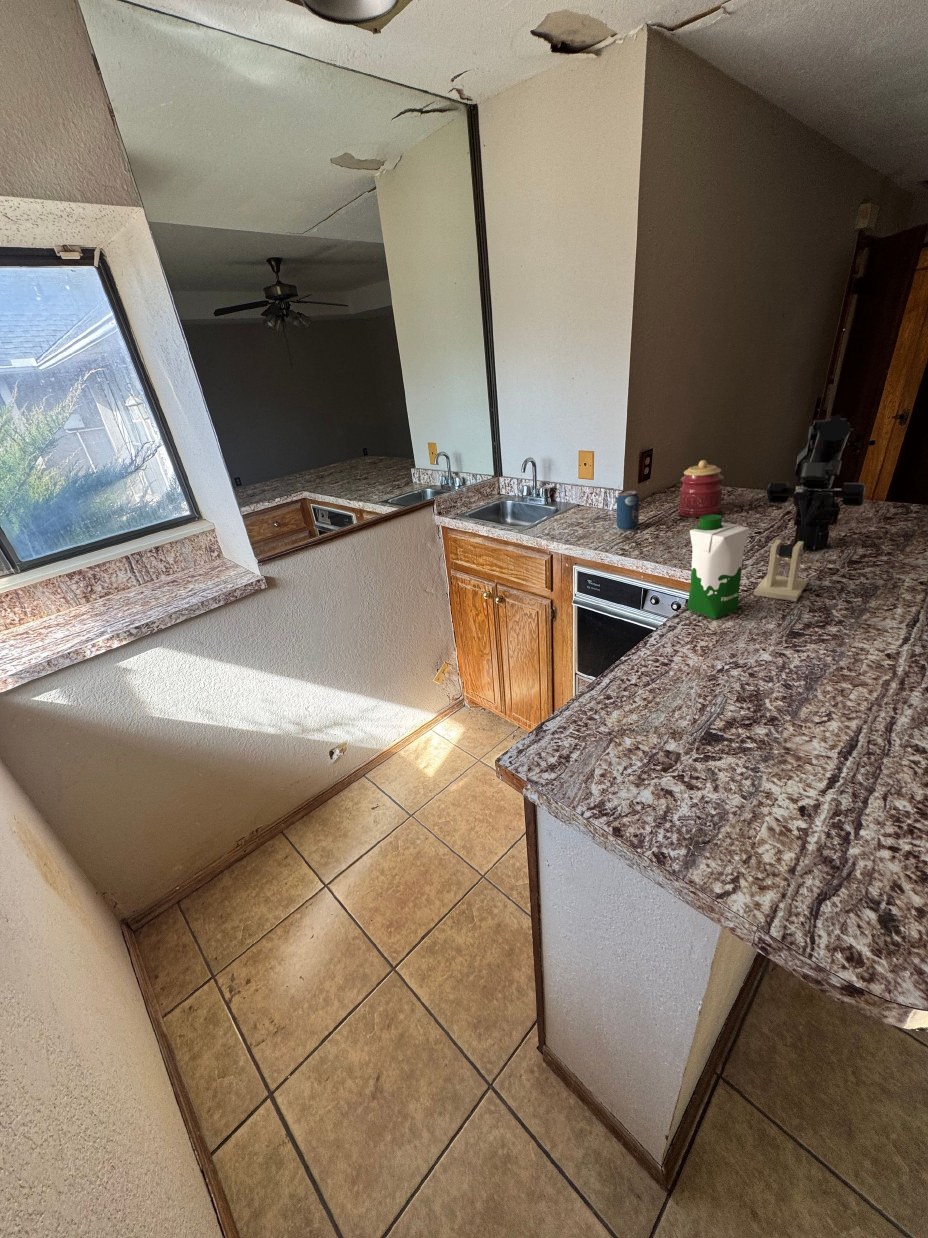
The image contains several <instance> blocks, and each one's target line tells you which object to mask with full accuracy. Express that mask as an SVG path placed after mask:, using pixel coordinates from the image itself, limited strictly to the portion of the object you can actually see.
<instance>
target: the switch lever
mask: <svg viewBox="0 0 928 1238" xmlns="http://www.w3.org/2000/svg"><path fill="white" fill-rule="evenodd" d="M793 548H794V547H793V546H792V545H789V544H781V546H780V550H779V554H778V556H779V558H781V559H782V561H783V563H784V564H785V565H787V566H791V559H792V553H793ZM802 559H803V556H801V561H800V563H801V562H802Z"/></svg>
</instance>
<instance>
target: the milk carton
mask: <svg viewBox="0 0 928 1238" xmlns="http://www.w3.org/2000/svg"><path fill="white" fill-rule="evenodd" d="M749 532H750V527H749V526H742V525H738V524H736V523H729V522H723V516H722V515H719V514H716V515H703V516H701V517H699V523H698V526H697V527H694V528H693V529H690V530H689V535H690V542H691V548H692V553H691V555H692V556H691V569H690V571H691V572H690V584H689V585H690V587H689V593H688V600H687V607H686V609H687V610H689V611H692V612H695V613H698V614H701V615H703V616H705V617H709V618H711V619H714V620H717V619H720V618H721V617H724V616H727V615H728V614H730V613H732V612H735V611H736V610H739V602H740V601H739V599H740V586H741V577H742V570H743V561H744V553H745V547H746V543H747V539H748V536H749Z"/></svg>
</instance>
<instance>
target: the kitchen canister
mask: <svg viewBox="0 0 928 1238" xmlns="http://www.w3.org/2000/svg"><path fill="white" fill-rule="evenodd" d="M721 471H722V468H720V467H718V466H717V465H715V464H708V461H707V460H705V459H701V460H700V461H699V462H698V465H694V466H693V465H692V466H690V467H688V469H686V470H684V471H683V474H684V476H682V477H681V478H680V482H681V487H680V497H679V506H678V507H679V508H678V510H679V514H680V515H681V516H683V517H689V518H700V517H701V516H703V515H719V513H720V512H721V509H722V493H723V488H724V487H723V485H722V481H723V480H724V478H725V477H724V475H723V474H721Z"/></svg>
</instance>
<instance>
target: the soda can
mask: <svg viewBox="0 0 928 1238" xmlns="http://www.w3.org/2000/svg"><path fill="white" fill-rule="evenodd" d="M639 505H640V497H639V495H638V491H636V490H623V491H619V492H618V495H617V498H616V527H617V529H619V530H620V531H627V532H628V531H633V530H635V529H637V528H638V526H639V521H640V519H639V518H640V517H639V516H640V515H639V514H640V513H639V509H640V508H639V507H640V506H639Z"/></svg>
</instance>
